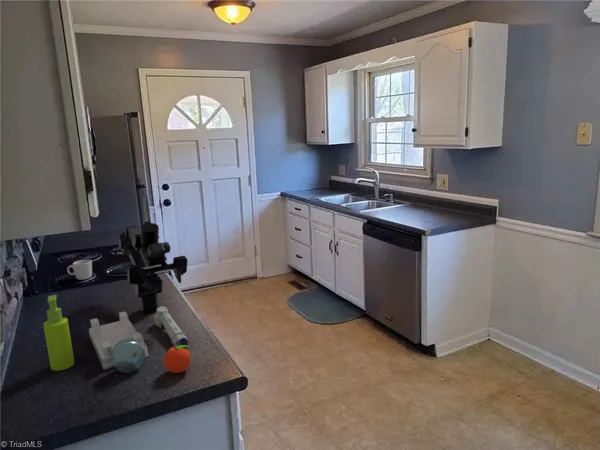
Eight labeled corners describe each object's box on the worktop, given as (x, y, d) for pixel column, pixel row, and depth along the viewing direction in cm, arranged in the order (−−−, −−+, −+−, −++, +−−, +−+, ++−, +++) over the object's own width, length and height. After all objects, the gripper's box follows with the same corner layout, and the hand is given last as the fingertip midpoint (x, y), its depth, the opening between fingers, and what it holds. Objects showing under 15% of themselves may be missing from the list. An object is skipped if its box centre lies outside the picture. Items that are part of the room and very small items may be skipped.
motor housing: (90, 337, 138) (86, 313, 137) (129, 327, 145) (126, 304, 143) (107, 379, 113) (103, 351, 111) (154, 364, 119) (150, 338, 118)
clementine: (188, 360, 121) (186, 337, 119) (200, 370, 115) (197, 345, 114) (161, 371, 116) (158, 346, 114) (171, 381, 111) (168, 355, 109)
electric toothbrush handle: (173, 340, 125) (151, 304, 145) (174, 360, 127) (152, 321, 147) (190, 335, 128) (166, 300, 148) (191, 354, 130) (168, 317, 150)
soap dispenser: (74, 356, 126) (64, 291, 122) (74, 367, 120) (63, 299, 116) (51, 362, 123) (40, 295, 119) (50, 373, 117) (38, 303, 113)
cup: (66, 282, 196) (63, 265, 195) (71, 277, 204) (69, 261, 202) (91, 280, 198) (89, 263, 197) (95, 275, 206) (93, 258, 205)
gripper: (122, 241, 137) (135, 271, 126) (180, 232, 147) (196, 259, 136) (123, 269, 142) (135, 299, 132) (178, 258, 152) (194, 286, 142)
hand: (166, 285), depth 135 cm, fingers open, 9 cm apart
